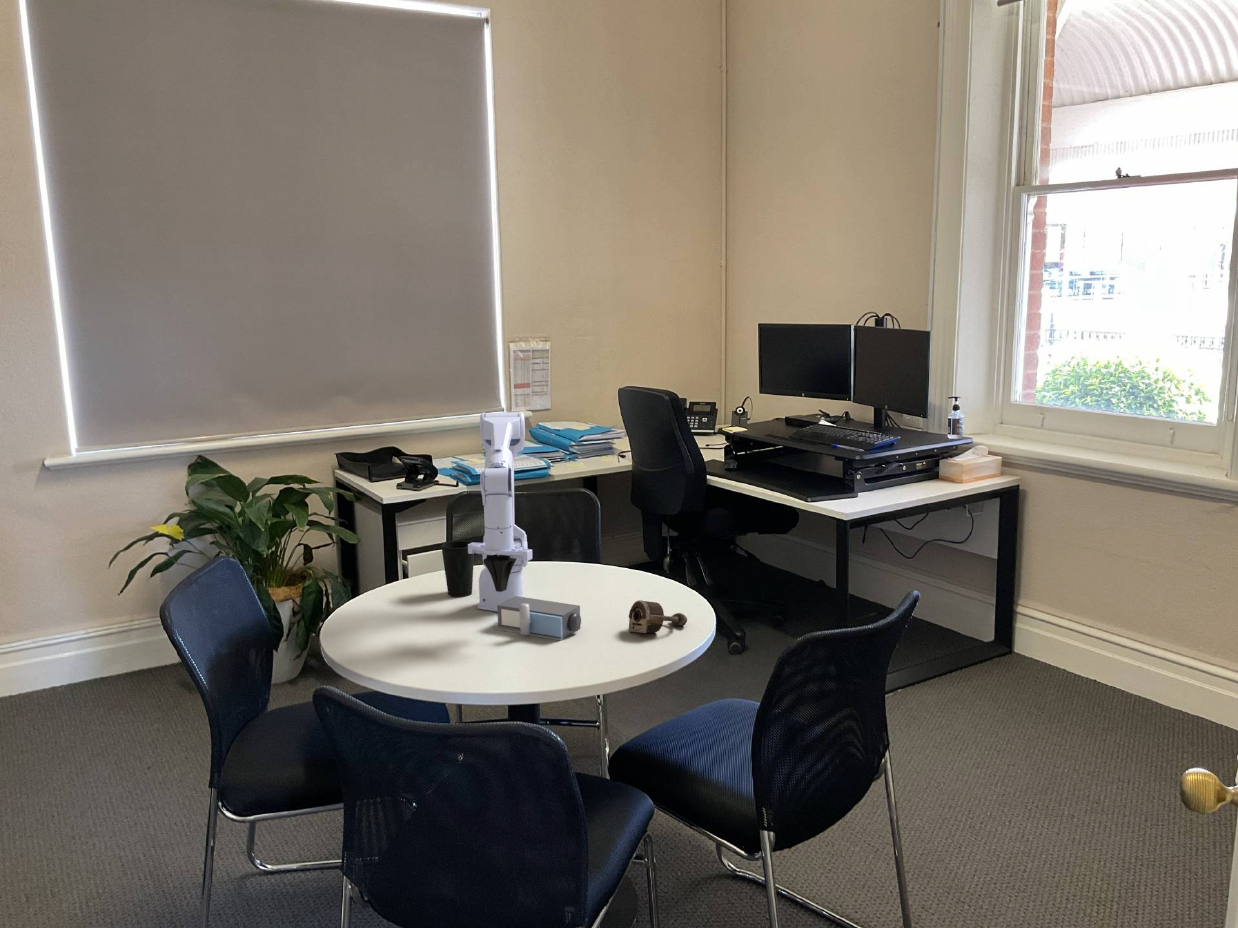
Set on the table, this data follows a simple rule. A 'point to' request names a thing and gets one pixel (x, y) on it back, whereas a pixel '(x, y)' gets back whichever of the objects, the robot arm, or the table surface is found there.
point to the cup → (458, 568)
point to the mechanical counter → (651, 617)
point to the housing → (568, 612)
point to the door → (539, 623)
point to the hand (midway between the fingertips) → (501, 590)
